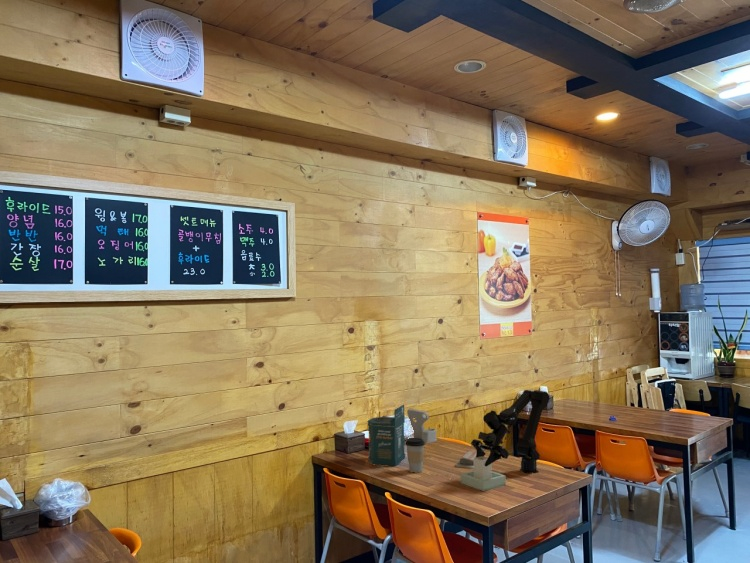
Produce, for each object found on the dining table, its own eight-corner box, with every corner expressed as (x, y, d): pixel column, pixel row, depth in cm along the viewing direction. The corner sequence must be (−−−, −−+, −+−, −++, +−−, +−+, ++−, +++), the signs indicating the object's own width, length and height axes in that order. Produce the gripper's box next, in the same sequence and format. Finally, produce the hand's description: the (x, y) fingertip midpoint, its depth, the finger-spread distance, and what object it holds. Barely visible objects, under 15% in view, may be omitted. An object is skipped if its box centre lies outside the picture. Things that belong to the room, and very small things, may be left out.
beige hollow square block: (482, 476, 256) (482, 456, 257) (492, 479, 252) (491, 458, 252) (474, 478, 253) (473, 458, 253) (483, 481, 248) (482, 460, 249)
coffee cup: (428, 469, 275) (427, 438, 276) (421, 475, 266) (420, 442, 267) (409, 467, 279) (409, 436, 279) (402, 472, 270) (402, 441, 271)
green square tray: (482, 477, 262) (482, 468, 262) (505, 484, 251) (505, 475, 251) (460, 482, 254) (460, 473, 254) (483, 491, 242) (483, 481, 243)
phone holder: (438, 440, 332) (437, 409, 333) (426, 443, 326) (425, 412, 326) (417, 435, 345) (416, 406, 346) (405, 438, 339) (404, 408, 339)
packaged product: (464, 449, 296) (483, 450, 292) (464, 458, 296) (483, 460, 291) (454, 457, 279) (474, 459, 275) (455, 467, 279) (474, 469, 275)
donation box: (395, 466, 281) (394, 409, 282) (365, 464, 286) (364, 408, 287) (405, 458, 296) (404, 404, 297) (376, 455, 301) (375, 402, 302)
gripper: (473, 421, 263) (456, 449, 256) (503, 428, 248) (486, 458, 241) (485, 436, 267) (469, 463, 261) (516, 443, 252) (499, 473, 245)
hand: (480, 464), depth 252 cm, fingers closed on beige hollow square block, 5 cm apart
